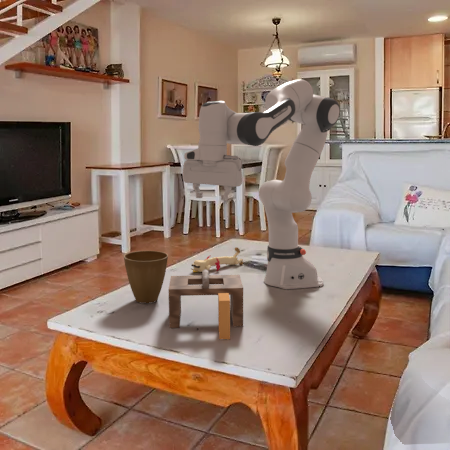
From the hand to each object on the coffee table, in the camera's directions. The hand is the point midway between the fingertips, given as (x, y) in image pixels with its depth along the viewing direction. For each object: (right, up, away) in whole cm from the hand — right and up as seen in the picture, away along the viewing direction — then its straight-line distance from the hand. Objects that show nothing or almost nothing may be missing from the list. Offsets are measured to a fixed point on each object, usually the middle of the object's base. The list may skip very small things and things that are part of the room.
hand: (211, 199), depth 161 cm
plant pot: (-23, -34, +17) cm, 45 cm away
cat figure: (+1, -27, +58) cm, 63 cm away
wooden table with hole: (-2, -37, -1) cm, 37 cm away
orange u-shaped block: (+4, -40, -13) cm, 42 cm away
